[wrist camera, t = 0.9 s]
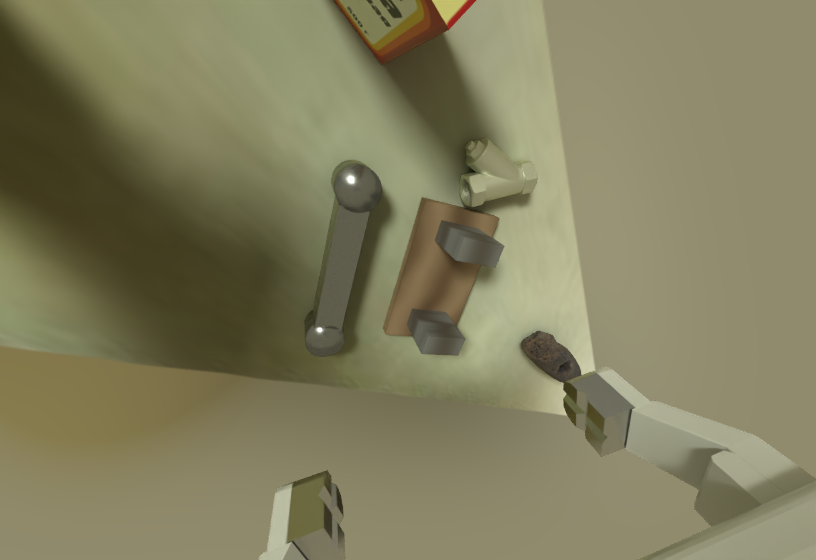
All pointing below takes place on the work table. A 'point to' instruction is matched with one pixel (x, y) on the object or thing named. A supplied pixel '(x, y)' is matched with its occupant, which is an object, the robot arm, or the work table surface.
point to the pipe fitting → (493, 174)
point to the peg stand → (440, 274)
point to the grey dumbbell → (341, 255)
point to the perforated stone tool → (551, 356)
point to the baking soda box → (401, 22)
